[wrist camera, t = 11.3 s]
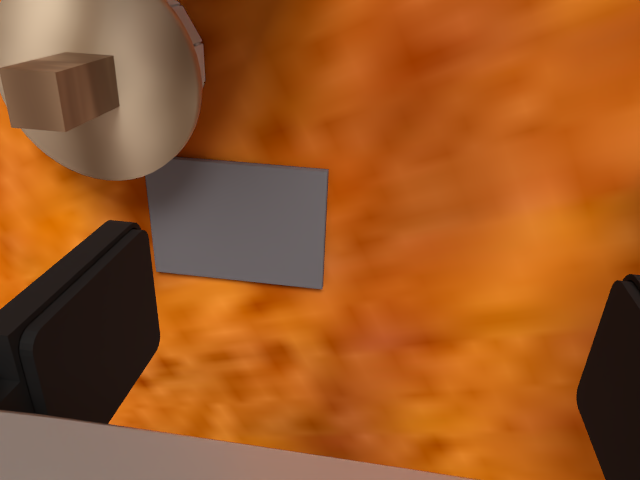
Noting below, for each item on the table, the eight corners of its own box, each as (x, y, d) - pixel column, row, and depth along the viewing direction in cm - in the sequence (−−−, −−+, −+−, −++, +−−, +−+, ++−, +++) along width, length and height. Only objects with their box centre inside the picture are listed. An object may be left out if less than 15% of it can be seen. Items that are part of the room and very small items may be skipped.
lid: (196, -35, 30) (141, -37, 24) (207, 184, 36) (166, 229, 30) (-21, -47, 31) (-126, -51, 25) (25, 166, 37) (-51, 205, 31)
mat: (328, 169, 39) (327, 172, 39) (322, 285, 44) (322, 289, 43) (146, 154, 41) (142, 156, 40) (159, 267, 45) (156, 271, 45)
